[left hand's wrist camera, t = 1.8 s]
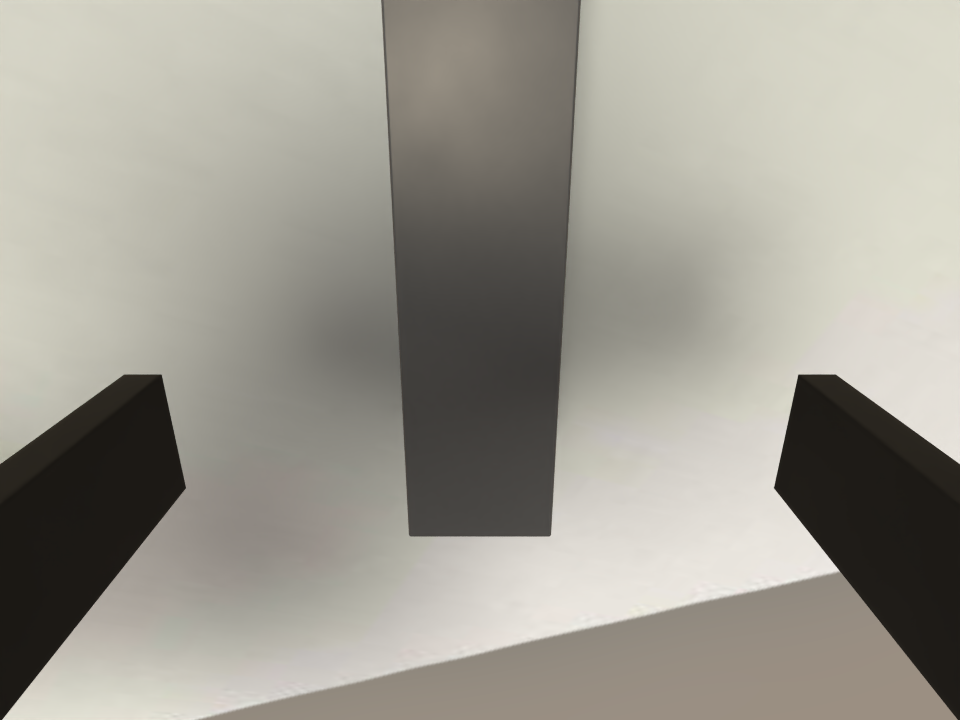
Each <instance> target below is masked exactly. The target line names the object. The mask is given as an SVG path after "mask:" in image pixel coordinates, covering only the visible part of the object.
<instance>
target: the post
mask: <svg viewBox="0 0 960 720" xmlns="http://www.w3.org/2000/svg"><path fill="white" fill-rule="evenodd" d="M381 3H382V22H383V41H384V61H385V80H386V99H387V119H388V138H389V157H390V176H391V196H392V215H393V234H394V254H395V273H396V292H397V312H398V331H399V350H400V369H401V389H402V408H403V427H404V447H405V466H406V485H407V505H408V524H409V535H410V536H550V535H551V525H552V507H553V489H554V471H555V453H556V435H557V417H558V399H559V381H560V363H561V345H562V327H563V309H564V291H565V273H566V256H567V238H568V220H569V202H570V184H571V166H572V148H573V130H574V112H575V94H576V76H577V58H578V40H579V22H580V4H581V0H381Z"/></svg>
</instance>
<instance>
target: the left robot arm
mask: <svg viewBox="0 0 960 720" xmlns="http://www.w3.org/2000/svg"><path fill="white" fill-rule="evenodd" d="M185 489H186V486H185V482H184V477H183V472H182V468H181V463H180V458H179V454H178V449H177V444H176V440H175V435H174V430H173V426H172V421H171V416H170V412H169V407H168V402H167V398H166V393H165V389H164V384H163V379H162V375H123V376H122V377H120V378H119V379H118V380H116V381H115V382H113V383H112V384H111V385H109V386H108V387H107V388H105V389H104V390H102V391H101V392H100V393H98V394H97V395H95V396H94V397H93V398H91V399H90V400H89V401H87V402H86V403H84V404H83V405H82V406H80V407H79V408H77V409H76V410H75V411H73V412H72V413H71V414H69V415H68V416H66V417H65V418H64V419H62V420H61V421H59V422H58V423H57V424H55V425H54V426H53V427H51V428H50V429H48V430H47V431H46V432H44V433H43V434H41V435H40V436H39V437H37V438H36V439H35V440H33V441H32V442H30V443H29V444H28V445H26V446H25V447H23V448H22V449H21V450H19V451H18V452H17V453H15V454H14V455H12V456H11V457H10V458H8V459H7V460H5V461H4V462H3V463H1V464H0V720H2V719H3V718H4V717H5V715H6V714H7V713H8V712H9V710H10V709H11V708H12V707H13V705H14V704H15V703H16V702H17V700H18V699H19V698H20V697H21V695H22V694H23V693H24V691H25V690H26V689H27V688H28V686H29V685H30V684H31V683H32V681H33V680H34V679H35V678H36V676H37V675H38V674H39V673H40V671H41V670H42V669H43V668H44V666H45V665H46V664H47V662H48V661H49V660H50V659H51V657H52V656H53V655H54V654H55V652H56V651H57V650H58V649H59V647H60V646H61V645H62V644H63V642H64V641H65V640H66V639H67V637H68V636H69V635H70V634H71V632H72V631H73V630H74V628H75V627H76V626H77V625H78V623H79V622H80V621H81V620H82V618H83V617H84V616H85V615H86V613H87V612H88V611H89V610H90V608H91V607H92V606H93V605H94V603H95V602H96V601H97V600H98V598H99V597H100V596H101V594H102V593H103V592H104V591H105V589H106V588H107V587H108V586H109V584H110V583H111V582H112V581H113V579H114V578H115V577H116V576H117V574H118V573H119V572H120V571H121V569H122V568H123V567H124V565H125V564H126V563H127V562H128V560H129V559H130V558H131V557H132V555H133V554H134V553H135V552H136V550H137V549H138V548H139V547H140V545H141V544H142V543H143V542H144V540H145V539H146V538H147V537H148V535H149V534H150V533H151V531H152V530H153V529H154V528H155V526H156V525H157V524H158V523H159V521H160V520H161V519H162V518H163V516H164V515H165V514H166V513H167V511H168V510H169V509H170V508H171V506H172V505H173V504H174V503H175V501H176V500H177V499H178V497H179V496H180V495H181V494H182V492H183V491H184V490H185ZM774 489H775V490H776V491H777V492H778V494H779V495H780V496H781V497H782V499H783V500H784V501H785V503H786V504H787V505H788V506H789V508H790V509H791V510H792V511H793V513H794V514H795V515H796V516H797V518H798V519H799V520H800V521H801V523H802V524H803V525H804V526H805V528H806V529H807V530H808V531H809V533H810V534H811V535H812V537H813V538H814V539H815V540H816V542H817V543H818V544H819V545H820V547H821V548H822V549H823V550H824V552H825V553H826V554H827V555H828V557H829V558H830V559H831V560H832V562H833V563H834V564H835V565H836V567H837V568H838V569H839V571H840V572H841V573H842V574H843V576H844V577H845V578H846V579H847V581H848V582H849V583H850V584H851V586H852V587H853V588H854V589H855V591H856V592H857V593H858V594H859V596H860V597H861V598H862V600H863V601H864V602H865V603H866V604H867V606H868V607H869V608H870V610H871V611H872V612H873V613H874V615H875V616H876V617H877V618H878V620H879V621H880V622H881V623H882V625H883V626H884V627H885V628H886V630H887V631H888V632H889V633H890V635H891V636H892V637H893V639H894V640H895V641H896V642H897V644H898V645H899V646H900V647H901V649H902V650H903V651H904V652H905V654H906V655H907V656H908V657H909V659H910V660H911V661H912V663H913V664H914V665H915V666H916V668H917V669H918V670H919V671H920V673H921V674H922V675H923V676H924V678H925V679H926V680H927V681H928V683H929V684H930V685H931V686H932V688H933V689H934V690H935V691H936V693H937V694H938V695H939V696H940V698H941V699H942V700H943V702H944V703H945V704H946V705H947V707H948V708H949V709H950V710H951V712H952V713H953V714H954V715H955V717H956V718H957V719H958V720H960V464H959V463H957V462H956V461H955V460H953V459H952V458H950V457H949V456H948V455H946V454H945V453H943V452H942V451H941V450H939V449H938V448H937V447H935V446H934V445H932V444H931V443H930V442H928V441H927V440H925V439H924V438H923V437H921V436H920V435H919V434H917V433H916V432H914V431H913V430H912V429H910V428H909V427H907V426H906V425H905V424H903V423H902V422H901V421H899V420H898V419H896V418H895V417H894V416H892V415H891V414H889V413H888V412H887V411H885V410H884V409H883V408H881V407H880V406H878V405H877V404H876V403H874V402H873V401H871V400H870V399H869V398H867V397H866V396H865V395H863V394H862V393H860V392H859V391H858V390H856V389H855V388H853V387H852V386H851V385H849V384H848V383H847V382H845V381H844V380H842V379H841V378H840V377H838V376H837V375H798V379H797V384H796V389H795V393H794V398H793V402H792V407H791V412H790V416H789V421H788V426H787V430H786V435H785V440H784V444H783V449H782V454H781V458H780V463H779V468H778V472H777V477H776V482H775V486H774Z"/></svg>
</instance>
